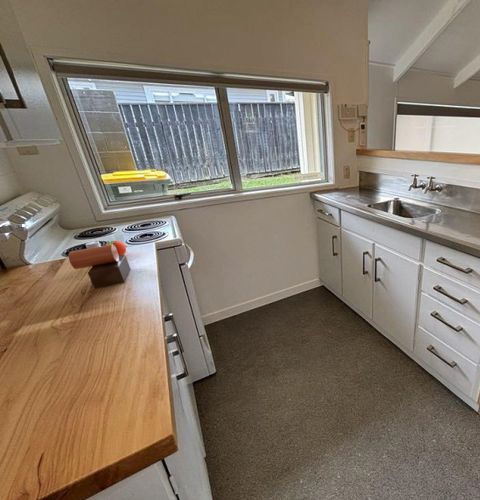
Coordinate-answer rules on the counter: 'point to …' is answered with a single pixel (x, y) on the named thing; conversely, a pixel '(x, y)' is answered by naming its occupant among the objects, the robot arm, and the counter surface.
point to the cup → (93, 256)
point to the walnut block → (110, 273)
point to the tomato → (118, 247)
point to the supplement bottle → (92, 244)
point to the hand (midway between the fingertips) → (16, 231)
